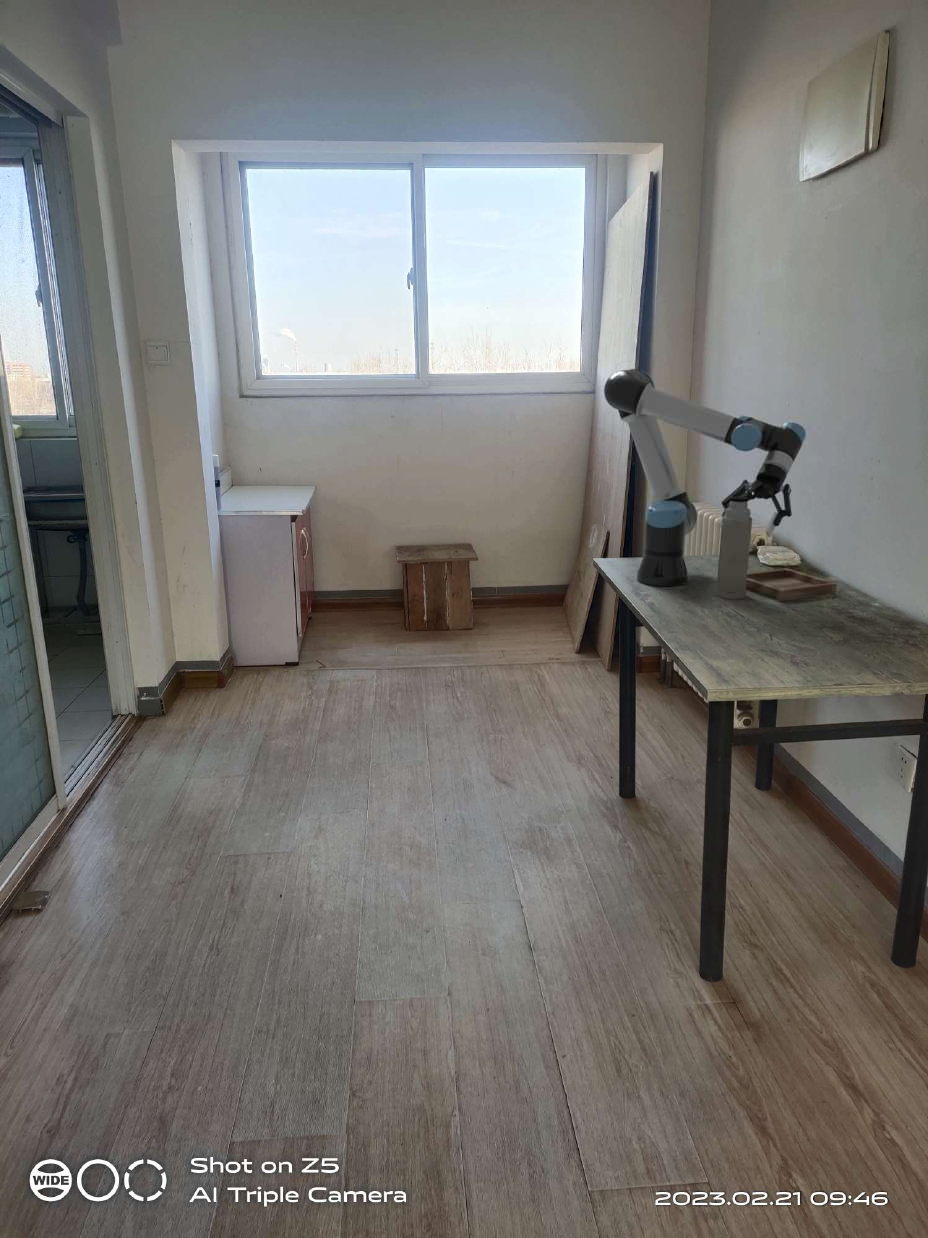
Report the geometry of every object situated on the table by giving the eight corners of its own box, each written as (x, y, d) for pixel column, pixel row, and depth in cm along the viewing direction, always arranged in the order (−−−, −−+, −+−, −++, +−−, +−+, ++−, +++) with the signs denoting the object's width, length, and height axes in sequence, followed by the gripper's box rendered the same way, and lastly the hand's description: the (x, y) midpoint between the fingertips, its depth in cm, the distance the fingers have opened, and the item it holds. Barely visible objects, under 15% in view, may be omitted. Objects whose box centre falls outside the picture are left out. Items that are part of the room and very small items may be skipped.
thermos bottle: (712, 596, 238) (719, 498, 229) (721, 589, 244) (729, 494, 235) (739, 600, 233) (748, 500, 225) (749, 594, 239) (758, 496, 231)
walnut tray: (732, 584, 249) (733, 574, 248) (785, 577, 256) (786, 568, 255) (780, 601, 231) (781, 591, 231) (835, 593, 239) (836, 583, 238)
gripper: (820, 483, 233) (791, 544, 228) (737, 475, 250) (708, 532, 245) (814, 465, 228) (784, 528, 223) (730, 459, 245) (700, 517, 240)
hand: (744, 530), depth 234 cm, fingers open, 13 cm apart
